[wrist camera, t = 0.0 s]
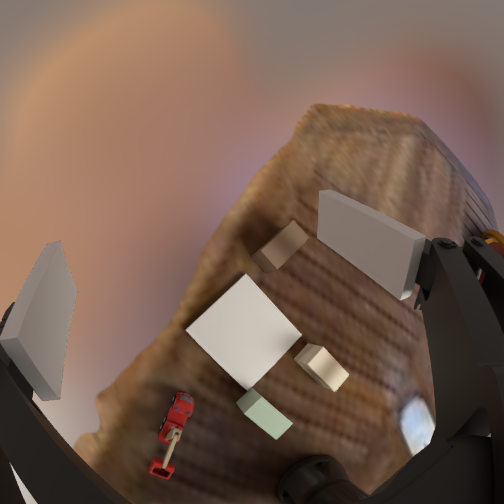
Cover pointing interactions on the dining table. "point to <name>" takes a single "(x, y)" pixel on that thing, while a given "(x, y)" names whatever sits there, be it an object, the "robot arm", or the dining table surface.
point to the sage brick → (263, 413)
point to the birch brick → (321, 366)
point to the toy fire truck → (172, 433)
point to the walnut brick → (280, 247)
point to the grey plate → (244, 332)
